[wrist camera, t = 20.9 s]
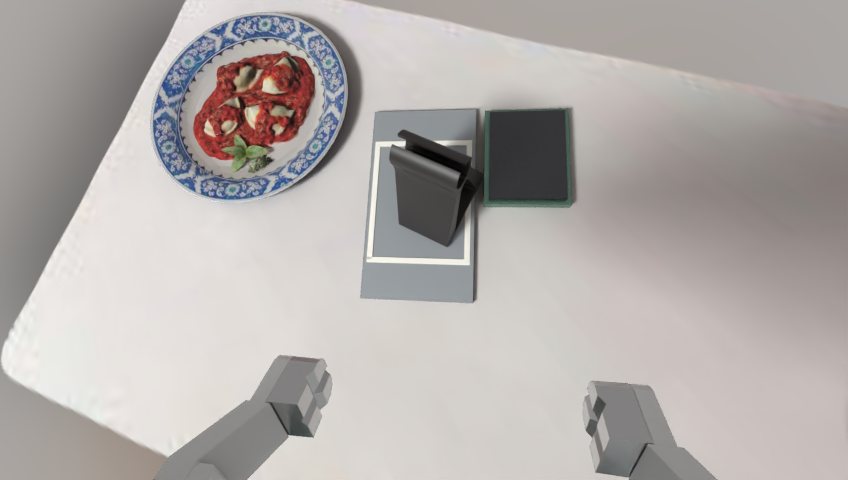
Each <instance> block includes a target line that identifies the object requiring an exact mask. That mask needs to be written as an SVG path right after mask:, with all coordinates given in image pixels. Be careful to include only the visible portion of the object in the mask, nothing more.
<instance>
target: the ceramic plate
mask: <svg viewBox="0 0 848 480" xmlns="http://www.w3.org/2000/svg"><path fill="white" fill-rule="evenodd" d="M347 100H348V83H347V76H346V71H345V67H344V64H343V61H342V59H341V57H340V55H339V53H338V51H337V49H336V47H335V46H334V44H333V43H332V42H331V40H330V39H329V38H328V37H327V36H326V35H325V34H324V33H323V32H322V31H321V30H319V29H318V28H317V27H315V26H314V25H312V24H310V23H309V22H307V21H305V20H303V19H301V18H298V17H295V16H291V15H287V14H282V13H273V12H261V13H251V14H246V15H242V16H238V17H234V18H231V19H229V20H226V21H224V22H221V23H219V24H217V25H215V26H213V27H211V28H209V29H208V30H206V31H205V32H203V33H202V34H201V35H199V36H198V37H196V38H195V39H194V40H193V41H192V42H190V43H189V44H188V45H187V46H186V47H185V48H184V49H183V50H182V51H181V52H180V53H179V54H178V56H177V57H176V58H175V59H174V60H173V61H172V63H171V64H170V66H169V68H168V69H167V71H166V72H165V74H164V76H163V77H162V79H161V81H160V84H159V86H158V88H157V91H156V94H155V97H154V99H153V104H152V110H151V117H150V134H151V141H152V145H153V148H154V152H155V155H156V157H157V159H158V162H159V163H160V165H161V167H162V168H163V170H164V171H165V173H166V174H167V175H168V176H169V177H170V178H171V179H172V181H173V182H174V183H176V184H177V185H178V186H179V187H181V188H182V189H184V190H185V191H187V192H188V193H190V194H192V195H194V196H197V197H199V198H202V199H205V200H209V201H213V202H220V203H245V202H251V201H256V200H260V199H263V198H266V197H269V196H272V195H274V194H277V193H279V192H281V191H283V190H285V189H287V188H289V187H290V186H292V185H293V184H295V183H296V182H297V181H299V180H300V179H302V178H303V177H304V176H305V175H307V174H308V173H309V172H310V171H311V170H312V169H313V168H314V167H315V166H316V165H317V164H318V163H319V162H320V161H321V160H322V158H323V157H324V156H325V155H326V153H327V152H328V150H329V149H330V147H331V146H332V144H333V143H334V141H335V139H336V137H337V135H338V133H339V130H340V128H341V126H342V123H343V120H344V117H345V112H346V108H347Z"/></svg>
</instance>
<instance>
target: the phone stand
mask: <svg viewBox="0 0 848 480" xmlns="http://www.w3.org/2000/svg"><path fill="white" fill-rule="evenodd" d="M398 137H400V138H402V139H405V140H406V145H405V149H403V148H401V147H398V146H396V145H394V144H392V146H391V149H390V154H389V161H390V163H391V164H392V165H393V167H394V169H395V178H396V192H397V206H398V220H399V225H402V226H404V227H406V228H408V229H410V230H412V231H414V232H416V233H418V234H420V235H422V236H425V237H427V238H429V239H431V240H433V241H435V242H437V243H439V244H441V245H443V246H445V247H448V246H449V244H450V242H451V240H452V238H453V236H454V234H455V232H456V230H457V229H458V227H459V225H460V223H461V221H462V219H463V217H464V215H465V212H466V210H467V209H468V207H469V205H470V203H471V201H472V199H473V197H474V195H475V193H476V191H477V189H478V187H479V185H480V183H481V181H482V179H483V176H484V174H483V173H481V172H479V171H477V170H475V169H473V168H472V167H471V162H472V157H470V156H468V155H466V154H463V153H461V152H458V151H456V150H453V149H451V148H449V147H446V146H444V145H441V144H439V143H436V142H434V141H432V140H429V139H427V138H424V137H422V136H419V135H417V134H415V133H412V132H410V131H407V130H405V129H403V130H401V131H400V132H399V133H398Z"/></svg>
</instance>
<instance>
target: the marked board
mask: <svg viewBox="0 0 848 480" xmlns="http://www.w3.org/2000/svg"><path fill="white" fill-rule="evenodd" d="M403 129H405V130H407V131H410V132H412V133H415V134H417V135H419V136H422V137H424V138H427V139H429V140H432V141H434V142H436V143H439V144H441V145H444V146H446V147H449V148H451V149H453V150H456V151H458V152H461V153H463V154H466V155H468V156H470V157H472V162H471V167H472V168H473V169H475V156H476V109H464V110H427V111H389V112H375V118H374V130H373V143H372V156H371V168H370V181H369V194H368V206H367V219H366V231H365V244H364V257H363V269H362V282H361V295H360V298H368V299H390V300H413V301H436V302H459V303H473V264H474V210H475V195H474V197H473V199H472V201H471V203H470V205H469V207H468V209H467V210H466V212H465V215H464V217H463V219H462V221H461V223H460V225H459V227H458V229H457V230H456V232H455V234H454V236H453V238H452V240H451V242H450V244H449V246H448V247H445V246H443V245H441V244H439V243H437V242H435V241H433V240H431V239H429V238H427V237H425V236H422V235H420V234H418V233H416V232H414V231H412V230H410V229H408V228H406V227H404V226H402V225H399V220H398V206H397V192H396V178H395V169H394V167H393V165H392V164H391V163H390V161H389V154H390V149H391V146H392V144H394V145H396V146H398V147H401V148H403V149H405V145H406V140H405V139H402V138H400V137H398V133H399V132H400V131H401V130H403Z"/></svg>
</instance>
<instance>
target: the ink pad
mask: <svg viewBox="0 0 848 480" xmlns="http://www.w3.org/2000/svg"><path fill="white" fill-rule="evenodd" d="M571 205H572V200H571V173H570V146H569V118H568V109H542V110H503V111H485V143H484V207H560V208H569V207H570V206H571Z"/></svg>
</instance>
